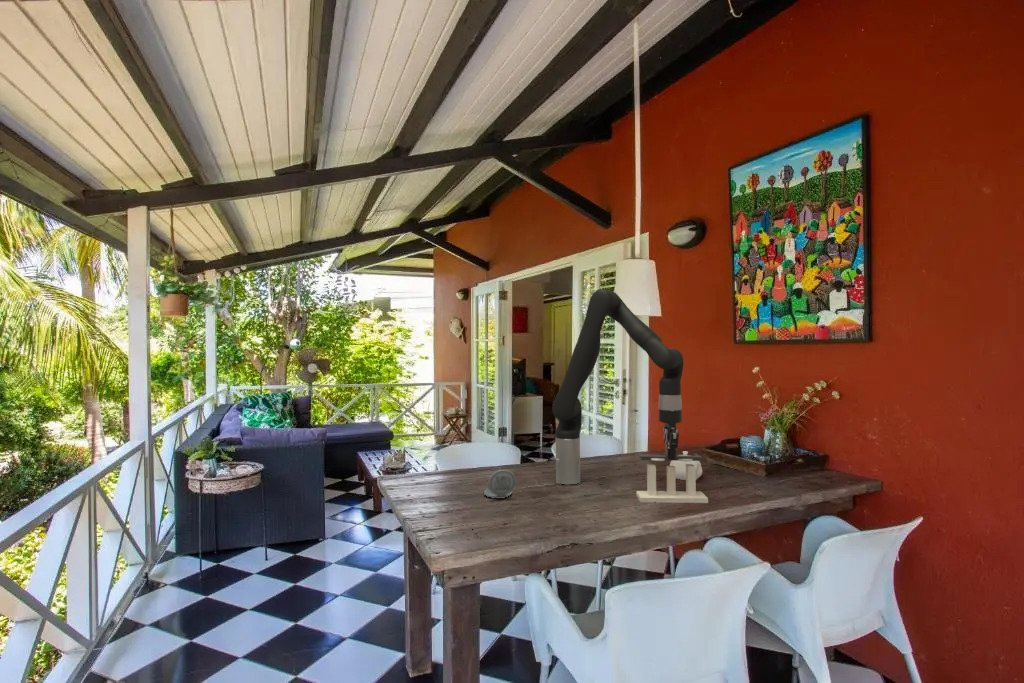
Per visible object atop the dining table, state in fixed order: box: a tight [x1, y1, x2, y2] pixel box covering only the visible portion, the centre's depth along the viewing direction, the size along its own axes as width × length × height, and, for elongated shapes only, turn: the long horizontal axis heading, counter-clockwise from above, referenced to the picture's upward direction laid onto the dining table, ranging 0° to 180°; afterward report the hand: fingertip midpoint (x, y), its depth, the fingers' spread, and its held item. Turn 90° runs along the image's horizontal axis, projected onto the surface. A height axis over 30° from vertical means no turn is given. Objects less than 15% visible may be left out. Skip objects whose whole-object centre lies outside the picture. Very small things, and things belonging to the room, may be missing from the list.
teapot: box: [669, 450, 703, 481], centre depth 205 cm, size 20×12×10 cm, turn 12°
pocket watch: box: [483, 468, 516, 498], centre depth 185 cm, size 10×11×15 cm
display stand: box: [635, 463, 709, 504], centre depth 178 cm, size 22×8×12 cm, turn 86°
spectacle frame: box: [637, 443, 703, 462], centre depth 180 cm, size 20×9×5 cm, turn 86°
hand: (670, 458), depth 178 cm, fingers closed on spectacle frame, 3 cm apart
